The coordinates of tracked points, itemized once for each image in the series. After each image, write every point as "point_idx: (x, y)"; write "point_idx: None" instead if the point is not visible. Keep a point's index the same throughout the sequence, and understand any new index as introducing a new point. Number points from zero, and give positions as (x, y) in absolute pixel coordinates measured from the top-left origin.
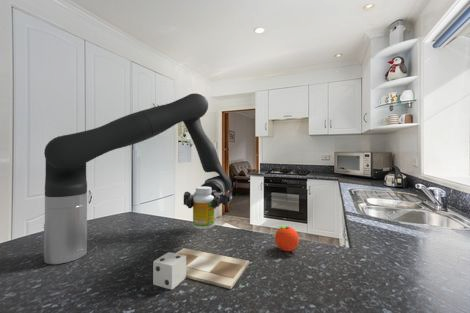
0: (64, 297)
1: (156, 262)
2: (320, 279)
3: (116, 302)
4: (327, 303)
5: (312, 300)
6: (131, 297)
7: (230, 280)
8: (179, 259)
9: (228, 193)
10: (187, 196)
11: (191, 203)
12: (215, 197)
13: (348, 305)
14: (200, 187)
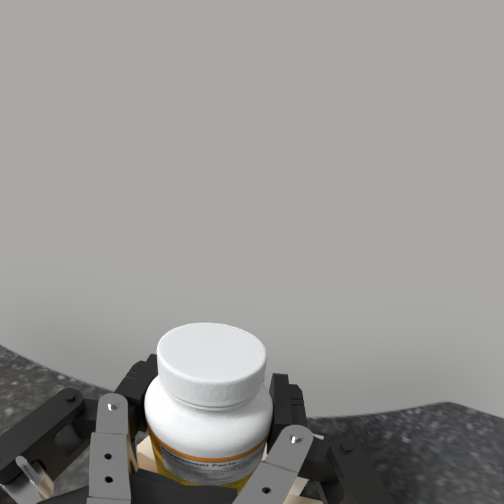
0: (416, 422)
1: (315, 435)
2: (4, 399)
3: (341, 425)
4: (43, 372)
5: (53, 381)
6: (327, 434)
7: (147, 447)
8: (266, 443)
9: (17, 438)
10: (329, 446)
11: (270, 392)
12: (138, 386)
13: (28, 363)
14: (234, 351)
